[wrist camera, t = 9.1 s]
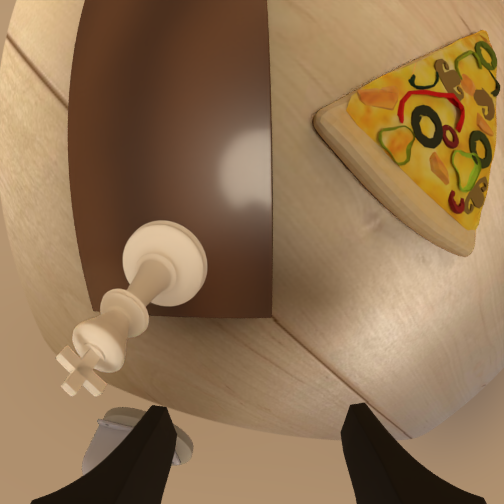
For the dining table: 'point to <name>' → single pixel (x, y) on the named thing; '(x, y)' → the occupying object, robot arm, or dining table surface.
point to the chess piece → (135, 301)
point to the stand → (175, 143)
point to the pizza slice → (424, 139)
